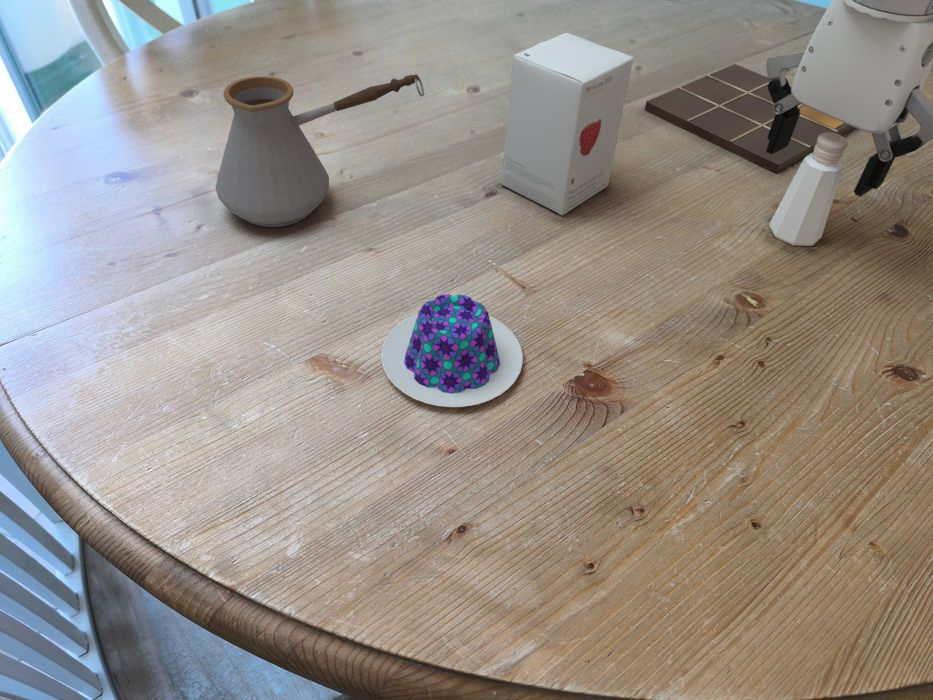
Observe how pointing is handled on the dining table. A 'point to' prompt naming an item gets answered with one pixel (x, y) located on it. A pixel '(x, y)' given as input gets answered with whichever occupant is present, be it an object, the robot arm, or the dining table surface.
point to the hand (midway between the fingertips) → (818, 169)
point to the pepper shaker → (810, 193)
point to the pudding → (452, 354)
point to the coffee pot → (278, 151)
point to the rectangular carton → (564, 120)
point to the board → (741, 116)
